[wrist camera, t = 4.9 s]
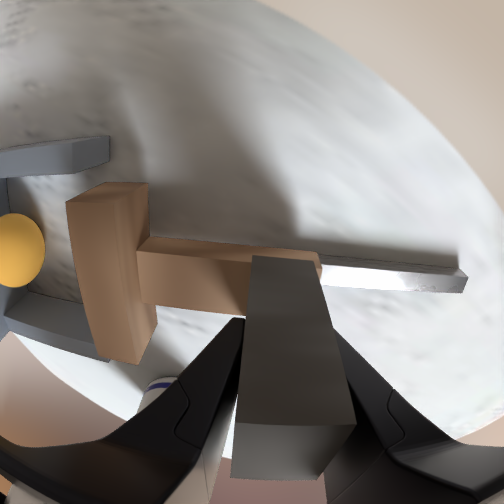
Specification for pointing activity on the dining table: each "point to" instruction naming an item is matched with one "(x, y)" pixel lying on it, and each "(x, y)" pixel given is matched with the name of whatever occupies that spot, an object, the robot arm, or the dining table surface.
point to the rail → (390, 275)
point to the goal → (19, 298)
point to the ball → (20, 250)
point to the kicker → (227, 302)
